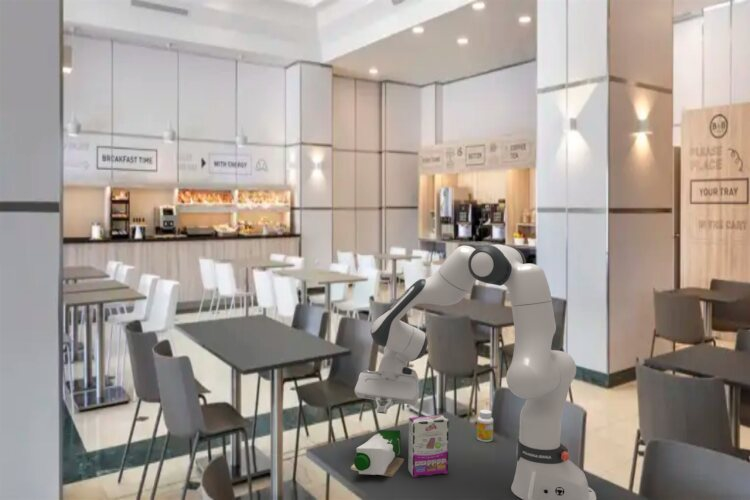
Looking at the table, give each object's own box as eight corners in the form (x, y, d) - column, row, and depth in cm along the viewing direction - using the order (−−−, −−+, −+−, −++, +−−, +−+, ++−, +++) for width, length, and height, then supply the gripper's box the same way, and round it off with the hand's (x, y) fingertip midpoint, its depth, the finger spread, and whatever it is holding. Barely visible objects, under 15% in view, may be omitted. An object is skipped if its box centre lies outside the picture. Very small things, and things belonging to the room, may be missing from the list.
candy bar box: (441, 467, 183) (443, 414, 182) (448, 474, 178) (449, 419, 177) (406, 470, 180) (408, 416, 179) (412, 477, 175) (413, 422, 174)
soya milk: (376, 427, 192) (351, 448, 173) (402, 427, 188) (380, 449, 170) (378, 454, 192) (354, 478, 173) (405, 455, 188) (383, 480, 170)
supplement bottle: (473, 437, 208) (474, 409, 207) (488, 435, 210) (488, 408, 209) (481, 442, 203) (482, 414, 202) (495, 441, 204) (496, 413, 204)
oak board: (403, 461, 187) (404, 458, 187) (392, 476, 175) (392, 474, 175) (364, 454, 191) (364, 452, 191) (350, 469, 180) (350, 467, 179)
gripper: (358, 364, 194) (347, 403, 185) (420, 371, 187) (411, 411, 179) (363, 374, 198) (351, 413, 190) (423, 381, 192) (414, 421, 183)
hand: (381, 412), depth 184 cm, fingers closed
